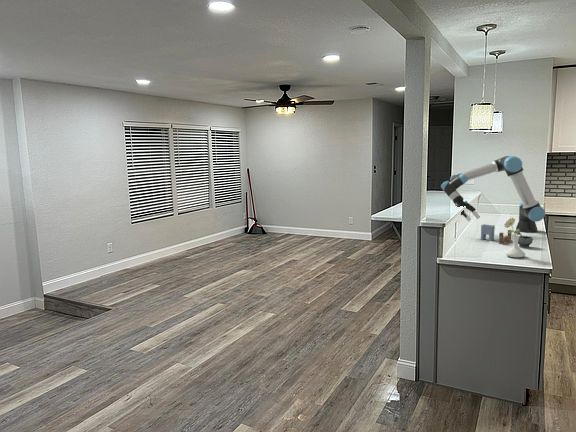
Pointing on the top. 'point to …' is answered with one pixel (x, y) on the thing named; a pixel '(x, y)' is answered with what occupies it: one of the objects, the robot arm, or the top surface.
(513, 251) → the flower in vase
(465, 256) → the top surface
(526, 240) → the mortar and pestle
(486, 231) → the slotted block
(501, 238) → the wooden drawer pull
